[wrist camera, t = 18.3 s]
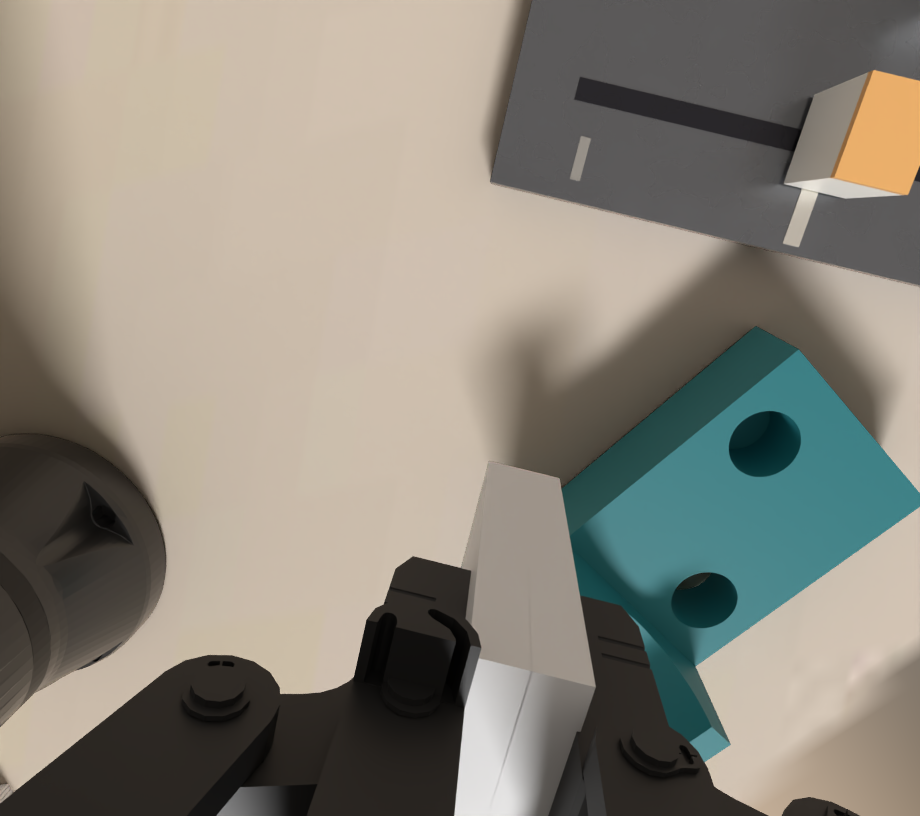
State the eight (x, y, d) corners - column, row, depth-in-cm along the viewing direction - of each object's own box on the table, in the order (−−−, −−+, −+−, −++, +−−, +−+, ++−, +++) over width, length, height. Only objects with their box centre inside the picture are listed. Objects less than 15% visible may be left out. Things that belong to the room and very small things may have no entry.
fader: (783, 183, 33) (834, 177, 27) (814, 94, 31) (873, 69, 26) (845, 198, 33) (908, 194, 27) (878, 109, 31) (950, 88, 26)
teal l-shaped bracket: (624, 644, 43) (670, 784, 33) (507, 534, 41) (519, 651, 31) (870, 461, 39) (1007, 560, 29) (755, 326, 36) (862, 383, 27)
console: (491, 183, 36) (490, 181, 34) (586, -228, 31) (591, -258, 29) (961, 297, 36) (987, 301, 34) (1134, -100, 31) (1177, -122, 29)
